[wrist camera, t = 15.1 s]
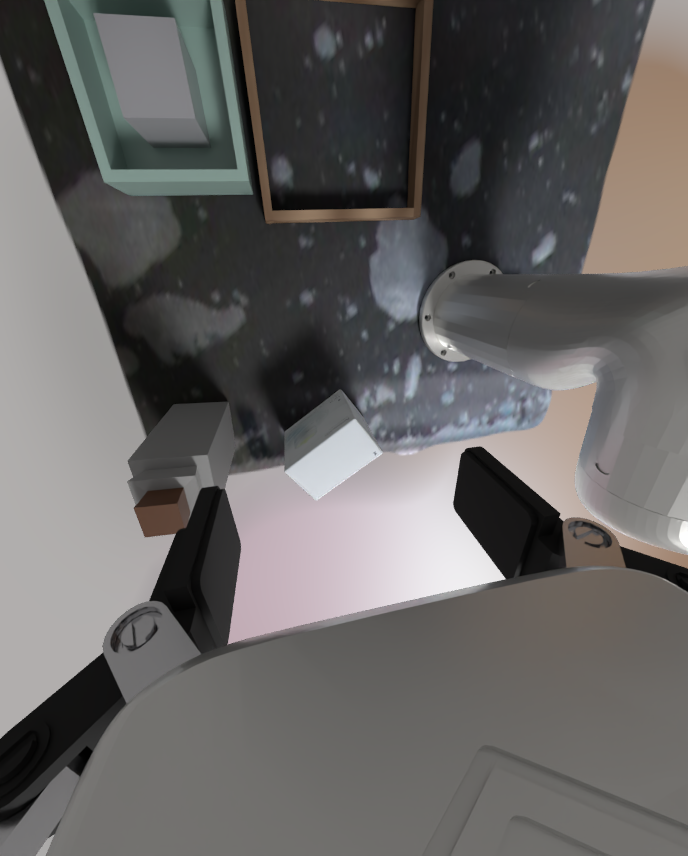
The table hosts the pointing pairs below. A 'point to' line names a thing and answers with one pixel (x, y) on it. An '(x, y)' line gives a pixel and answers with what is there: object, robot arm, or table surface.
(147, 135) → the stone block
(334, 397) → the skincare box
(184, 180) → the sage green bin
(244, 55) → the brown wooden frame
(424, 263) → the table surface
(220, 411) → the perfume bottle
